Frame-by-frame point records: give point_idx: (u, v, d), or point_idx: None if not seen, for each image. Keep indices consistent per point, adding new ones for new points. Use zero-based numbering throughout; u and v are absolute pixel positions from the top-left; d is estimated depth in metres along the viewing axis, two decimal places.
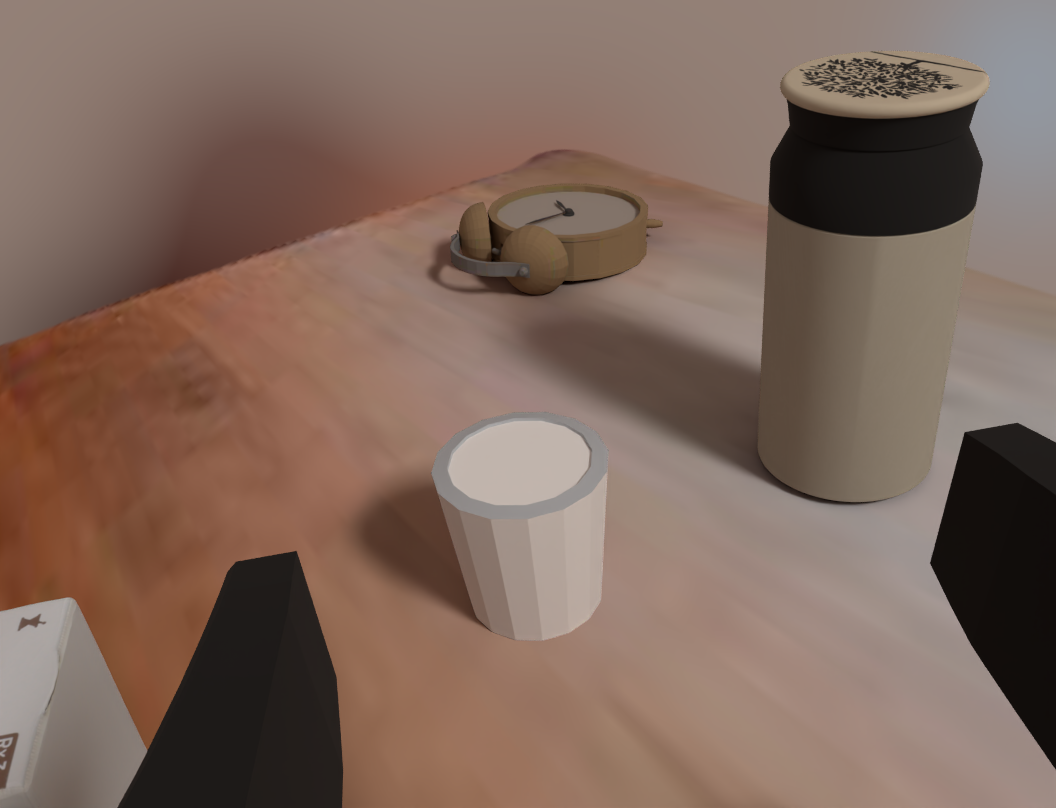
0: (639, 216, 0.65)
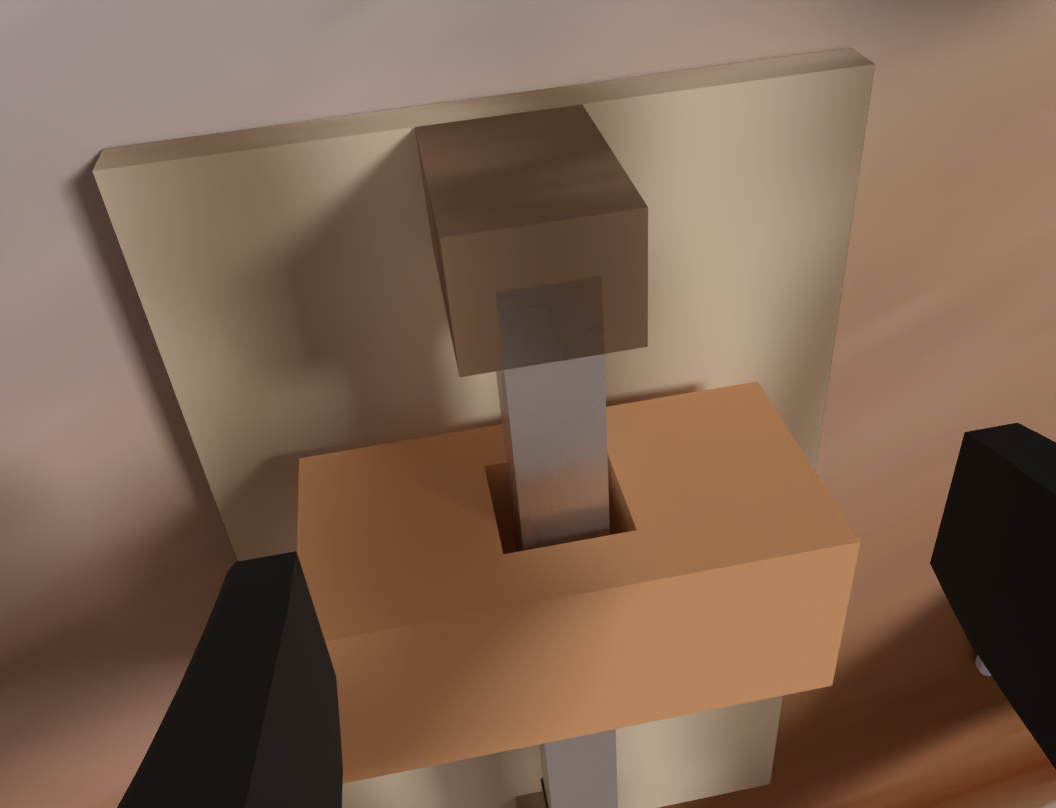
0: None
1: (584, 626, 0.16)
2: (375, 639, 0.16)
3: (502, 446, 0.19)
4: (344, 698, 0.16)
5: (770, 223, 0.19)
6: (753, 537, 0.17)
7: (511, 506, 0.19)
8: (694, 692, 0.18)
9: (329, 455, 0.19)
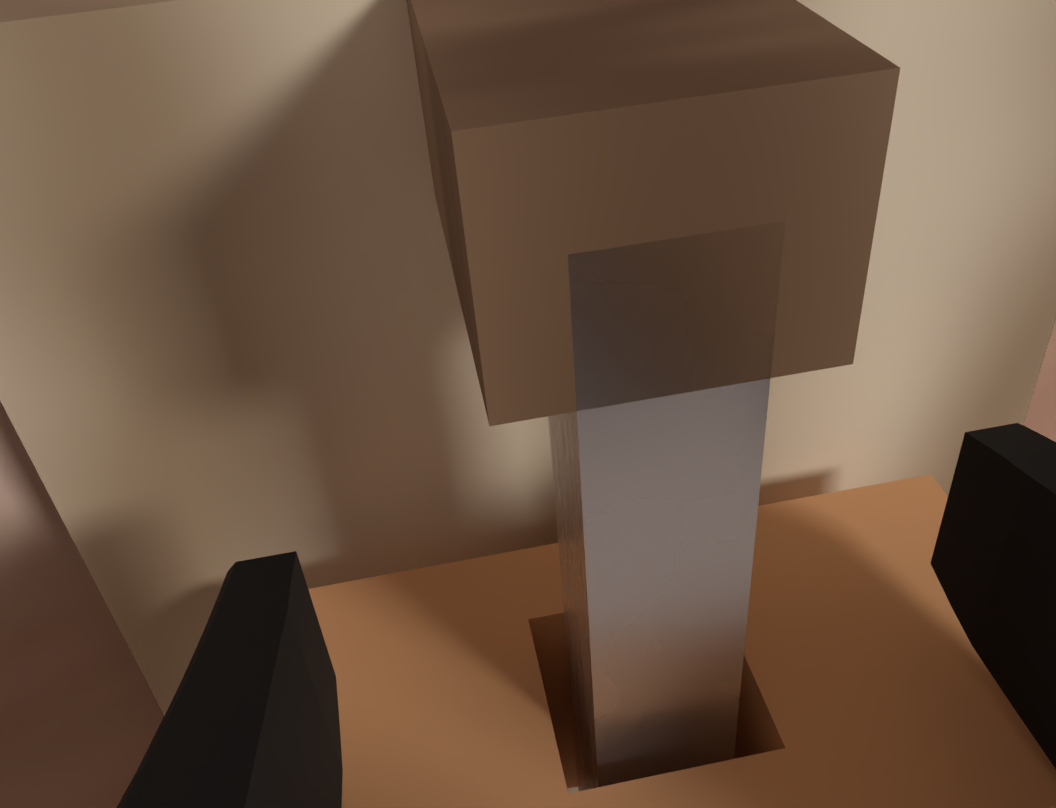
0: None
1: None
2: None
3: (554, 583, 0.12)
4: None
5: (980, 157, 0.12)
6: (984, 767, 0.10)
7: (565, 620, 0.11)
8: None
9: None
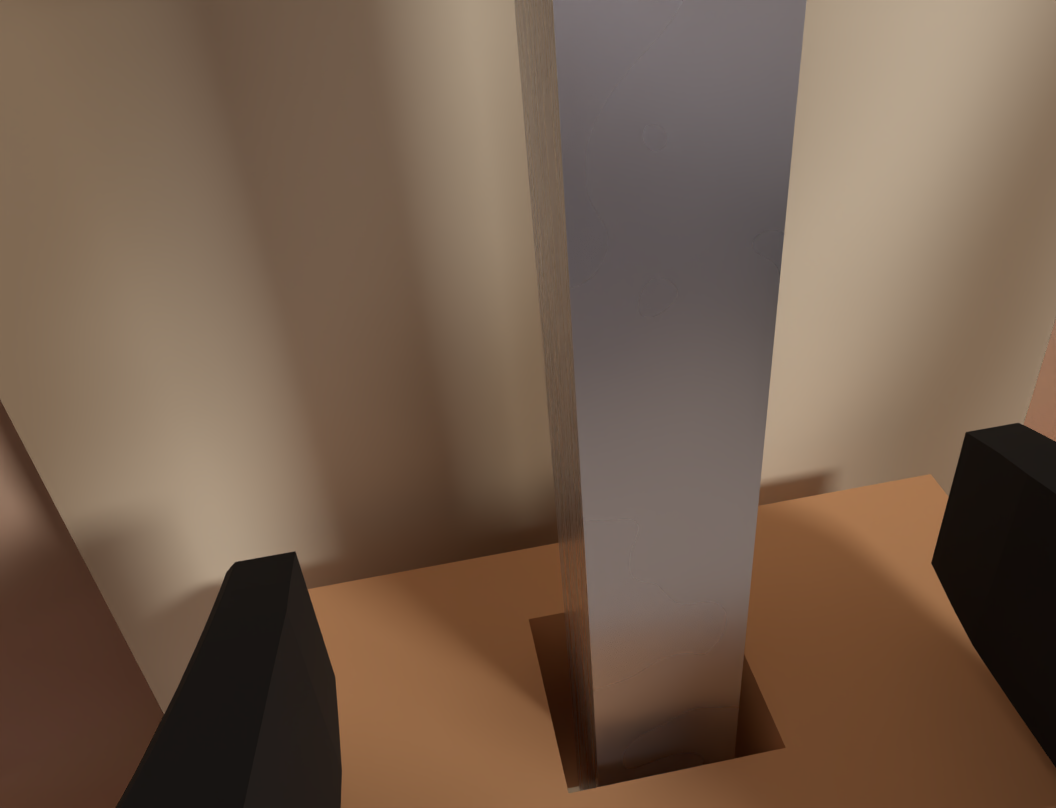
0: None
1: None
2: None
3: (554, 583, 0.12)
4: None
5: None
6: (984, 765, 0.10)
7: (533, 219, 0.08)
8: None
9: None
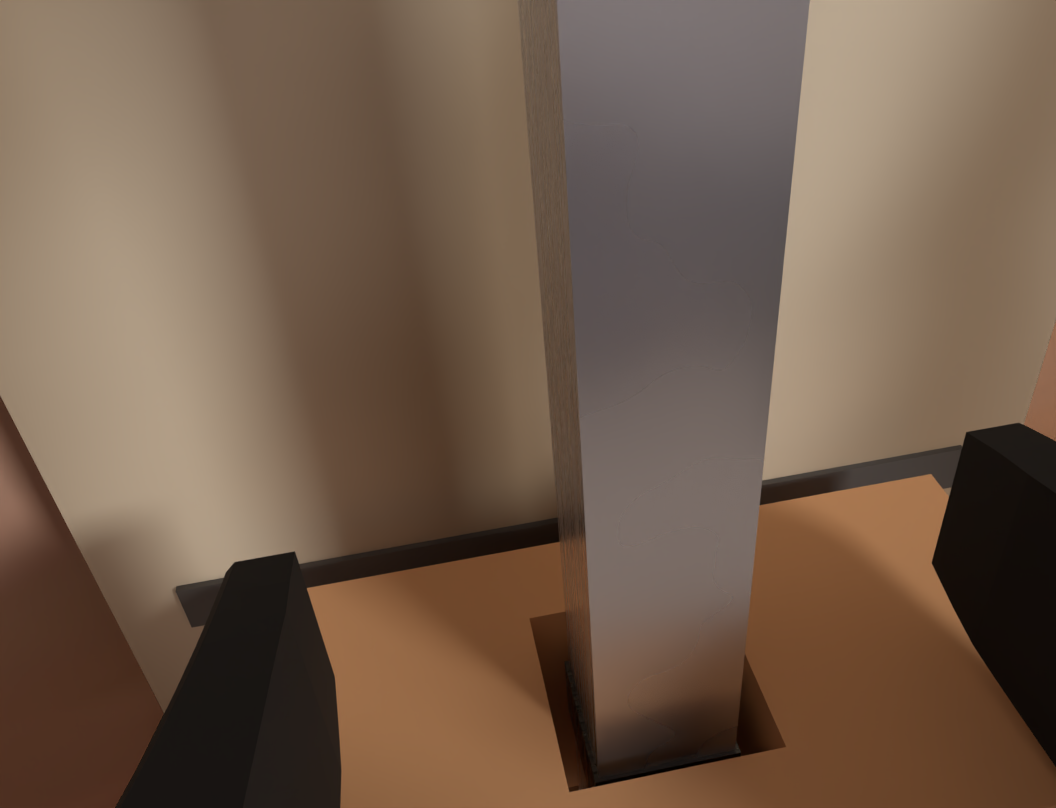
0: None
1: None
2: None
3: (555, 582, 0.12)
4: None
5: None
6: (984, 765, 0.10)
7: None
8: None
9: None
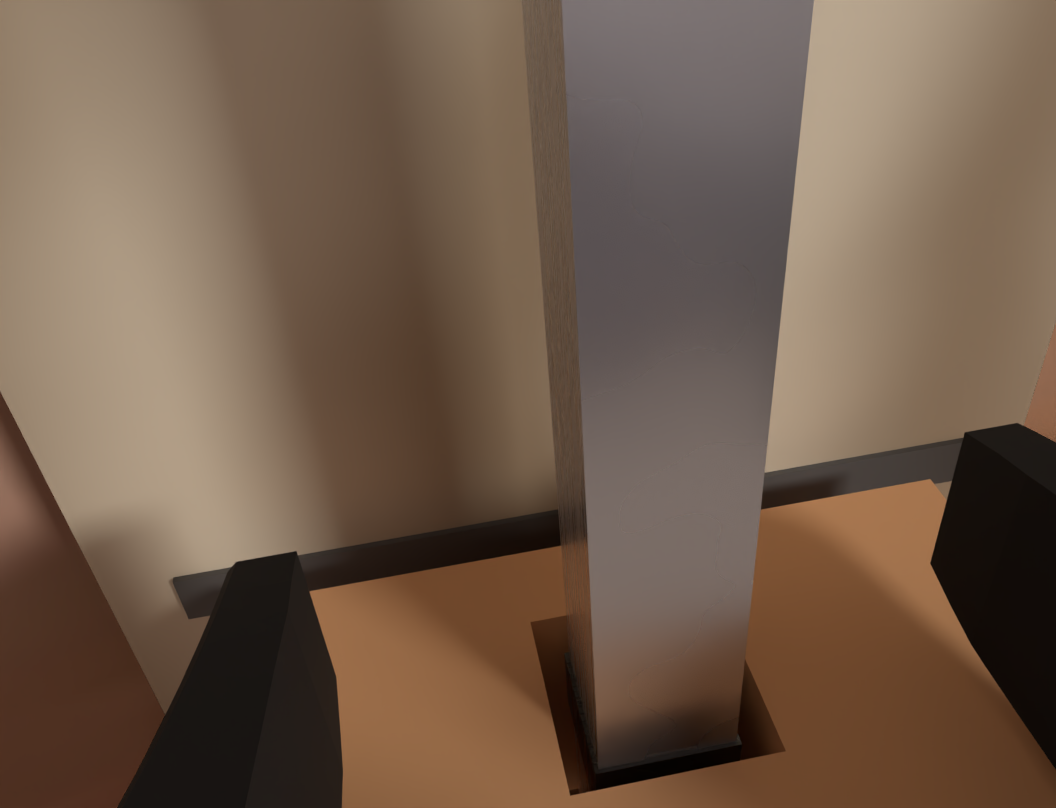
0: None
1: None
2: None
3: (556, 586, 0.12)
4: None
5: None
6: (982, 771, 0.10)
7: None
8: None
9: None
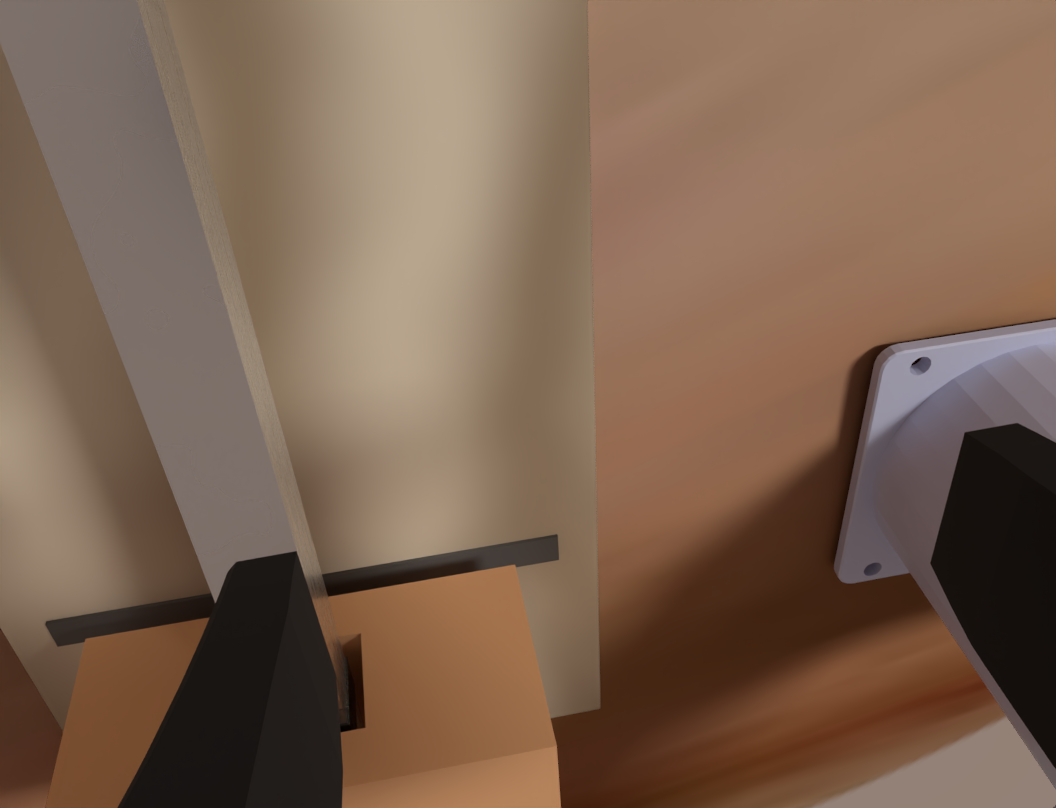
0: None
1: None
2: None
3: None
4: None
5: None
6: (464, 738, 0.19)
7: None
8: None
9: (113, 636, 0.21)
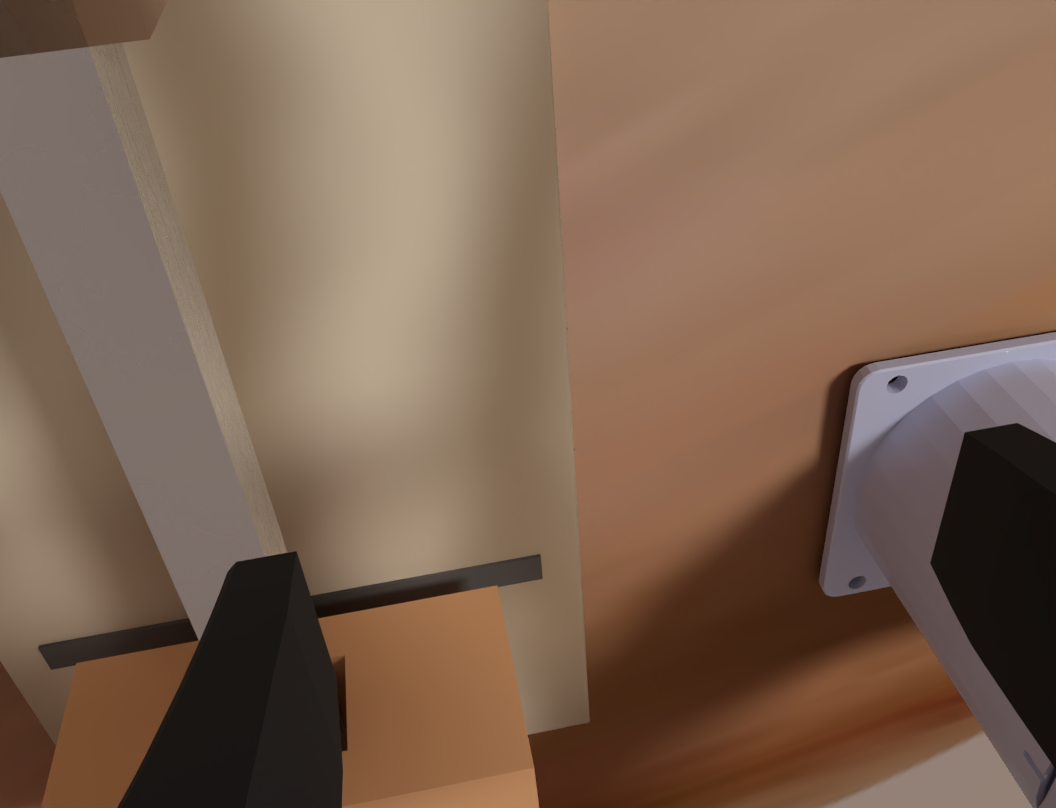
0: None
1: None
2: None
3: None
4: None
5: None
6: (444, 760, 0.19)
7: None
8: None
9: (104, 660, 0.21)
